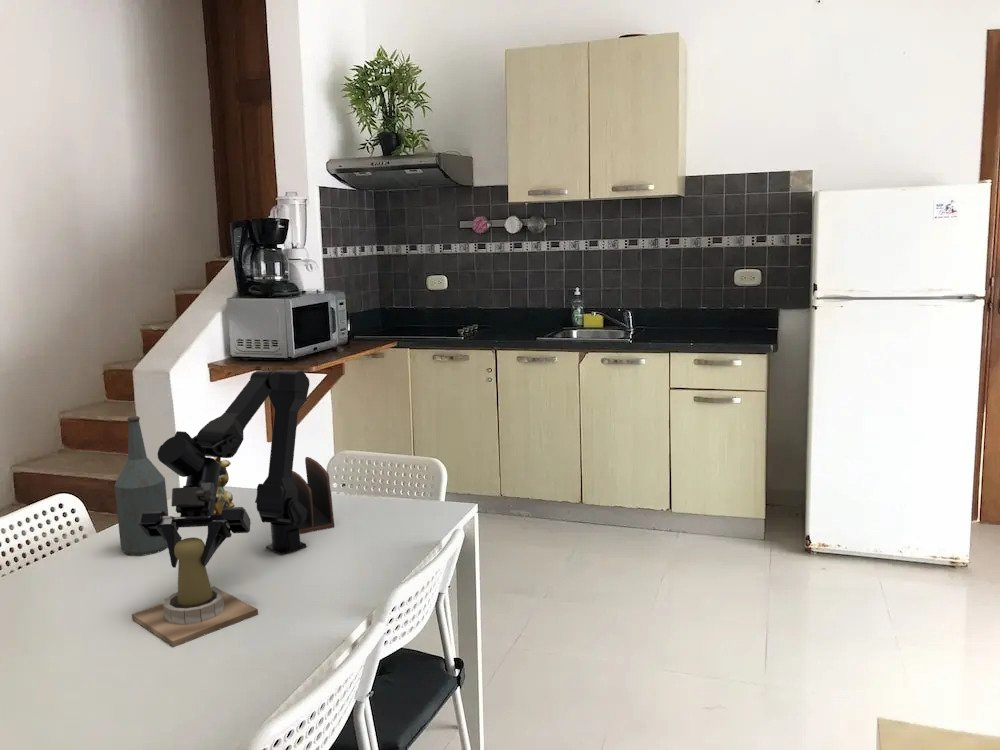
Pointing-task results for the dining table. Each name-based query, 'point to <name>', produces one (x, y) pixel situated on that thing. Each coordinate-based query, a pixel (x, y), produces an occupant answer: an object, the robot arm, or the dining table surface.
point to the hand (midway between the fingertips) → (188, 566)
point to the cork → (192, 572)
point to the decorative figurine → (223, 490)
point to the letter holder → (315, 497)
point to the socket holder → (193, 616)
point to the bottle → (139, 495)
